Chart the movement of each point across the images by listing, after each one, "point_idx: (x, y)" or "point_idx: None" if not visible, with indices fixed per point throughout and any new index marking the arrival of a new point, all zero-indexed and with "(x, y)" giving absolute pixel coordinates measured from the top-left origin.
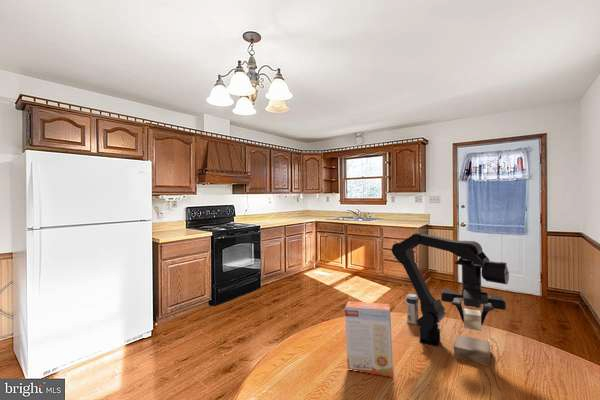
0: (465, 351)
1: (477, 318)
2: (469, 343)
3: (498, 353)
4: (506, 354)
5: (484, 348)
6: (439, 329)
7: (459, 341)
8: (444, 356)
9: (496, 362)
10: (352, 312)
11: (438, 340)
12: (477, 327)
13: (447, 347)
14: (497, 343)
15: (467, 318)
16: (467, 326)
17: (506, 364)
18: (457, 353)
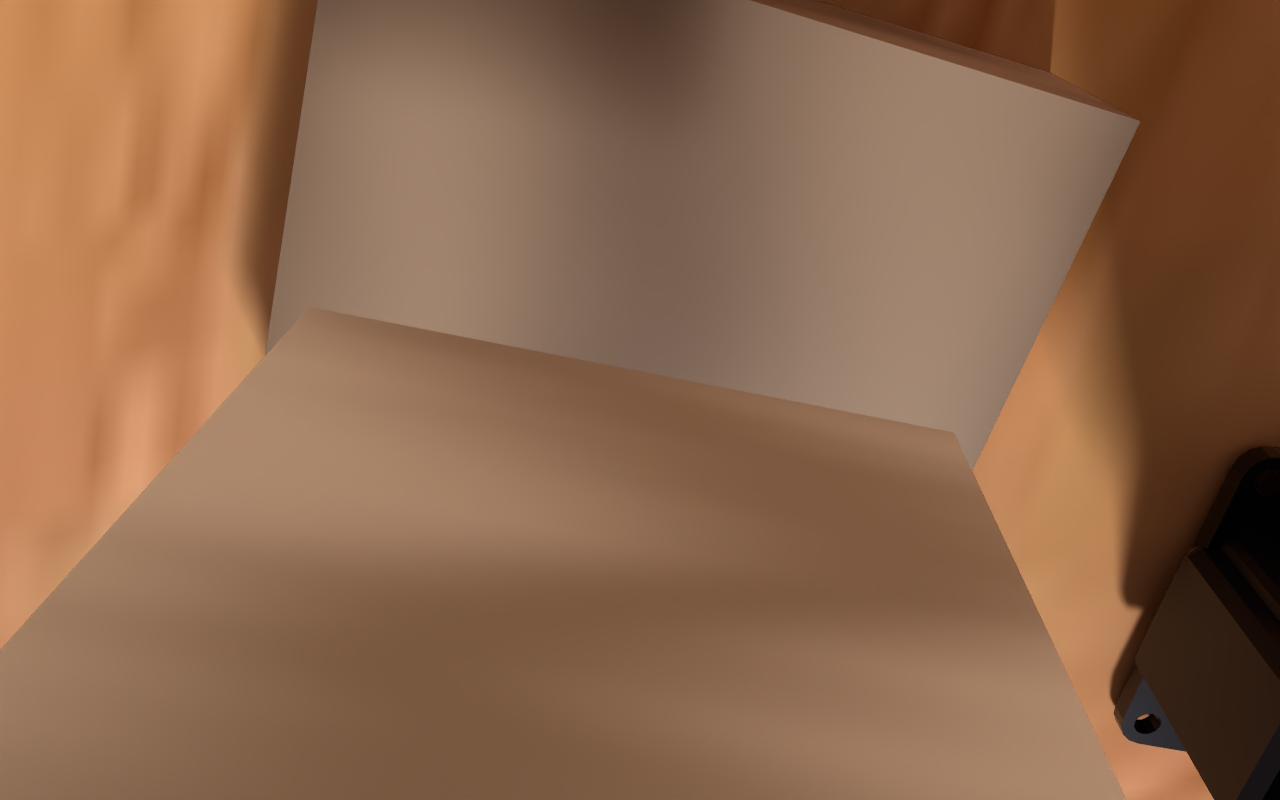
0: (865, 29)
1: (251, 684)
2: (691, 373)
3: (172, 428)
4: (44, 425)
5: (390, 196)
6: (1260, 789)
7: (903, 420)
8: (1262, 39)
9: (245, 69)
10: None
11: (1228, 565)
12: (423, 381)
13: (1060, 435)
14: None
15: (896, 710)
16: (835, 451)
17: (72, 38)
18: (1013, 68)
